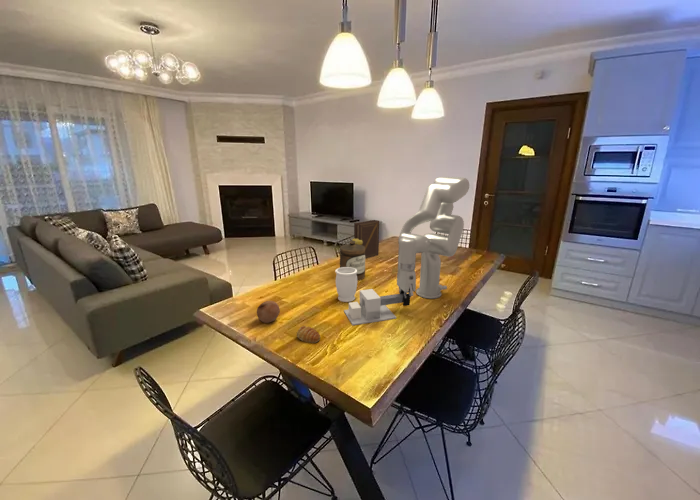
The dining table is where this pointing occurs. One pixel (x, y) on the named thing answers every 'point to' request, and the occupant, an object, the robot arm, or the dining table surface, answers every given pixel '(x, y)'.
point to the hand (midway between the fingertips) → (404, 303)
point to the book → (367, 236)
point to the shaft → (392, 299)
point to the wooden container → (353, 258)
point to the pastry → (308, 334)
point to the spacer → (354, 310)
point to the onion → (268, 311)
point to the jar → (346, 283)
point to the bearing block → (371, 309)
